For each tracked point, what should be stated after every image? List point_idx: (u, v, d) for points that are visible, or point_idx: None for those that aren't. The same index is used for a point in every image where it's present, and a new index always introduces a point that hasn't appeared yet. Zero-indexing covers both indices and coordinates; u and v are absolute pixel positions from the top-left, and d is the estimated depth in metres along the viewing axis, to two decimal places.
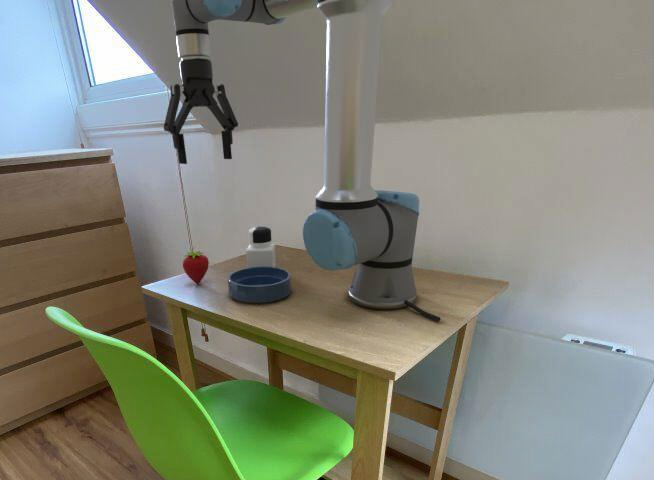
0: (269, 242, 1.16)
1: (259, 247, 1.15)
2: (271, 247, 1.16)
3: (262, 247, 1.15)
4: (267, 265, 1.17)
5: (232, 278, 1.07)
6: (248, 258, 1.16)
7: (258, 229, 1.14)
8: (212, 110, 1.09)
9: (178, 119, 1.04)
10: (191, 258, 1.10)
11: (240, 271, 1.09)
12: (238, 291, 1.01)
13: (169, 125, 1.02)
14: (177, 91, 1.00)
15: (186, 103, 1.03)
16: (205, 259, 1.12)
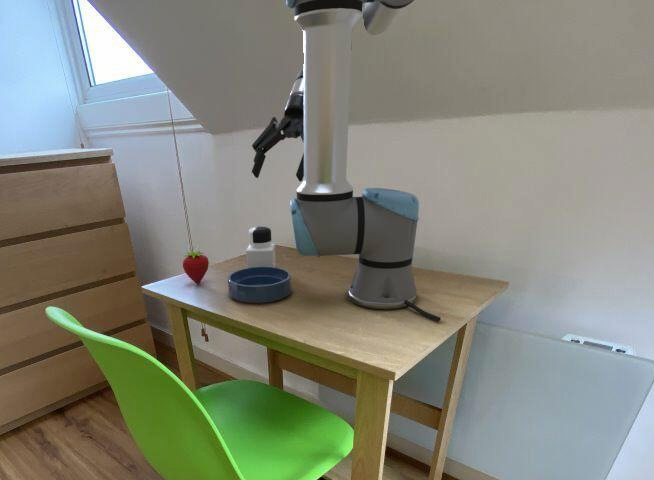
0: (269, 242, 1.16)
1: (259, 247, 1.15)
2: (271, 247, 1.16)
3: (262, 247, 1.15)
4: (267, 265, 1.17)
5: (232, 278, 1.07)
6: (248, 258, 1.16)
7: (258, 229, 1.14)
8: None
9: None
10: (191, 258, 1.10)
11: (240, 271, 1.09)
12: (238, 291, 1.01)
13: (254, 143, 1.19)
14: (272, 121, 1.18)
15: None
16: (205, 259, 1.12)
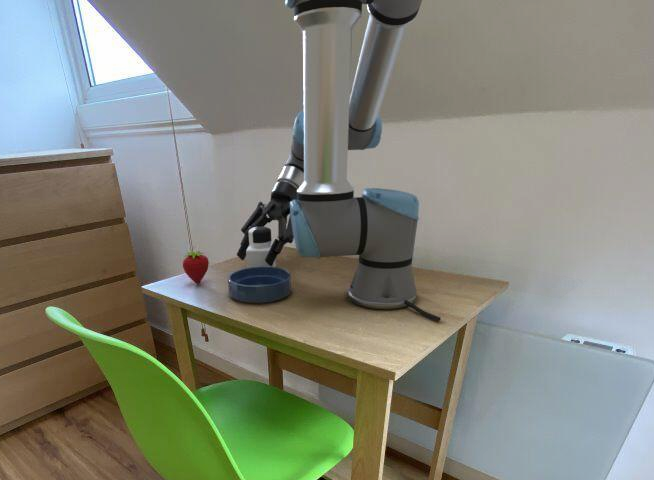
0: (269, 242, 1.16)
1: (259, 247, 1.15)
2: None
3: (262, 247, 1.15)
4: (267, 265, 1.17)
5: (232, 278, 1.07)
6: (248, 258, 1.16)
7: (258, 229, 1.14)
8: None
9: None
10: (191, 258, 1.10)
11: (240, 271, 1.09)
12: (238, 291, 1.01)
13: (242, 227, 1.22)
14: (258, 206, 1.21)
15: None
16: (205, 259, 1.12)
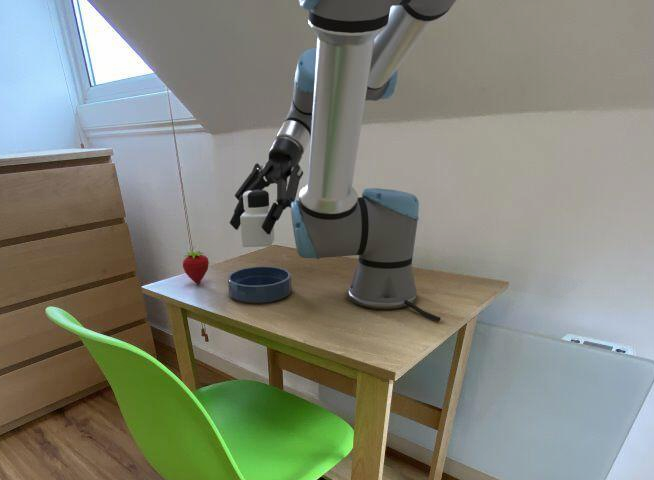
0: (267, 207, 1.01)
1: (255, 212, 1.01)
2: None
3: (258, 212, 1.01)
4: (264, 233, 1.02)
5: (232, 278, 1.07)
6: (242, 225, 1.01)
7: (254, 191, 0.99)
8: None
9: None
10: (191, 258, 1.10)
11: (240, 271, 1.09)
12: (238, 291, 1.01)
13: (236, 193, 1.07)
14: (254, 168, 1.06)
15: None
16: (205, 259, 1.12)
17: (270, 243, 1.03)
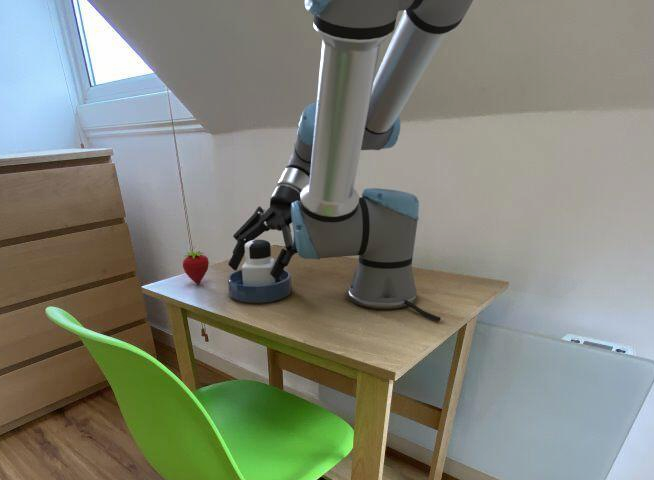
0: (268, 258, 1.01)
1: (257, 263, 1.01)
2: (270, 263, 1.02)
3: (260, 263, 1.01)
4: (266, 284, 1.02)
5: (232, 278, 1.07)
6: (244, 276, 1.02)
7: (256, 243, 0.99)
8: None
9: None
10: (191, 258, 1.10)
11: (240, 271, 1.09)
12: (238, 291, 1.01)
13: (235, 233, 1.08)
14: (256, 211, 1.06)
15: None
16: (205, 259, 1.12)
17: None
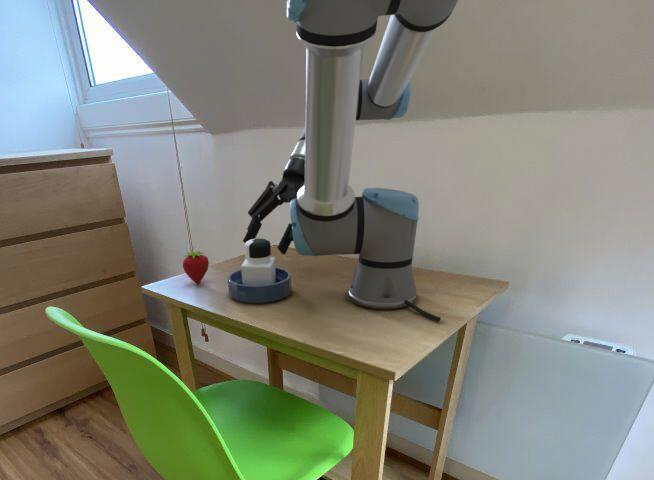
0: (268, 257, 1.01)
1: (256, 262, 1.01)
2: (270, 263, 1.02)
3: (260, 263, 1.01)
4: (265, 283, 1.03)
5: (232, 278, 1.07)
6: (243, 274, 1.02)
7: (255, 242, 1.00)
8: None
9: None
10: (191, 258, 1.10)
11: (240, 271, 1.09)
12: (238, 291, 1.01)
13: (250, 210, 1.08)
14: (268, 186, 1.07)
15: None
16: (205, 259, 1.12)
17: None
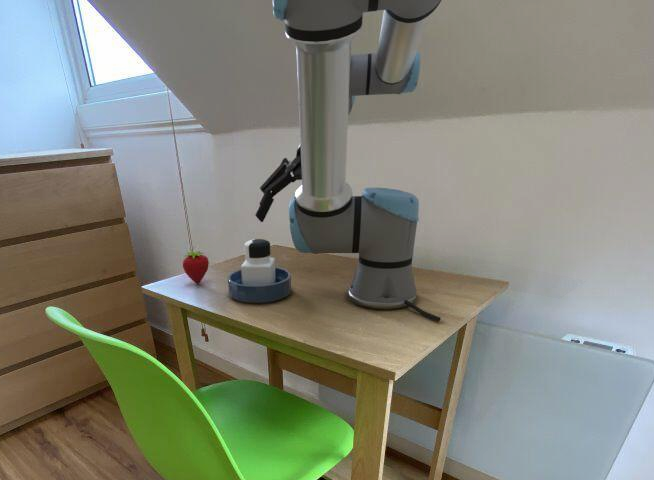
0: (267, 257, 1.01)
1: (256, 262, 1.01)
2: (270, 263, 1.02)
3: (259, 263, 1.01)
4: (265, 283, 1.03)
5: (232, 278, 1.07)
6: (243, 275, 1.02)
7: (255, 242, 1.00)
8: None
9: None
10: (191, 258, 1.10)
11: (240, 271, 1.09)
12: (238, 291, 1.01)
13: (262, 185, 1.09)
14: (282, 163, 1.08)
15: None
16: (205, 259, 1.12)
17: None
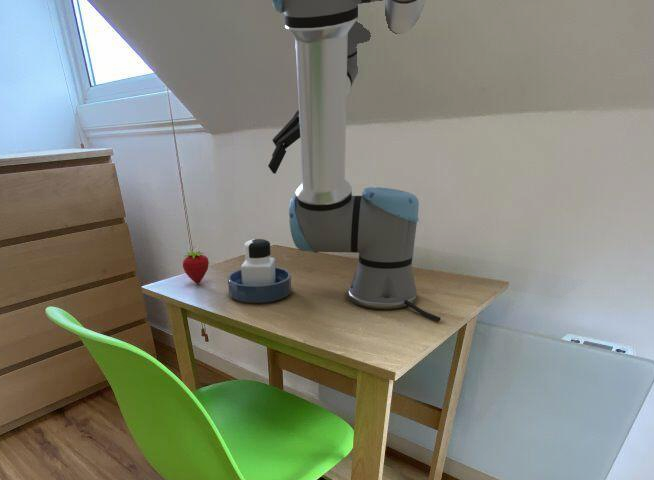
0: (267, 257, 1.01)
1: (256, 262, 1.01)
2: (270, 263, 1.02)
3: (259, 263, 1.01)
4: (265, 283, 1.03)
5: (232, 278, 1.07)
6: (243, 275, 1.02)
7: (255, 242, 1.00)
8: None
9: None
10: (191, 258, 1.10)
11: (240, 271, 1.09)
12: (238, 291, 1.01)
13: (274, 137, 1.10)
14: (295, 115, 1.09)
15: None
16: (205, 259, 1.12)
17: None
